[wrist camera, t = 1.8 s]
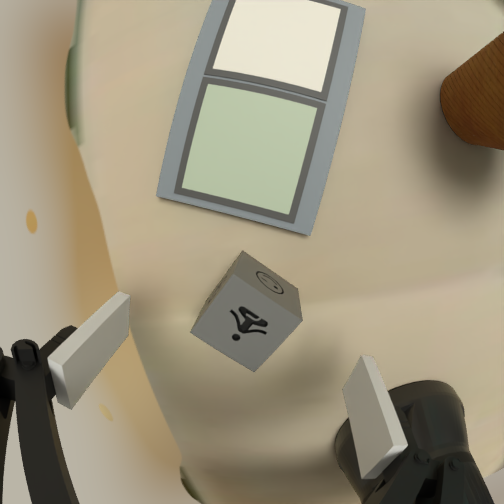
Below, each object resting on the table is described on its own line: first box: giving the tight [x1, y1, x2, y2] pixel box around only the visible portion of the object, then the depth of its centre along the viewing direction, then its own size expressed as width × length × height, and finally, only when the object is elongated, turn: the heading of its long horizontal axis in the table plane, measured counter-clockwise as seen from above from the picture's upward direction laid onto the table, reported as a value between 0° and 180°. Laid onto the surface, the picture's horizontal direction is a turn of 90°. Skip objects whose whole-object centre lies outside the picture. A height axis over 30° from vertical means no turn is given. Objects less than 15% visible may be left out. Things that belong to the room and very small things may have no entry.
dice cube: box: [190, 251, 303, 372], centre depth 20 cm, size 5×5×5 cm
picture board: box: [156, 0, 366, 236], centre depth 18 cm, size 18×11×1 cm, turn 166°
